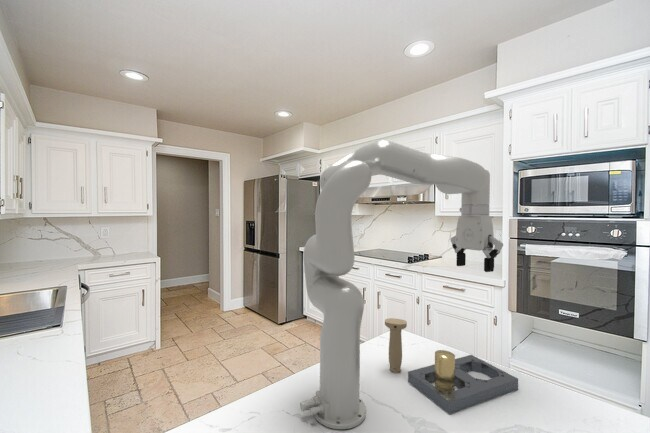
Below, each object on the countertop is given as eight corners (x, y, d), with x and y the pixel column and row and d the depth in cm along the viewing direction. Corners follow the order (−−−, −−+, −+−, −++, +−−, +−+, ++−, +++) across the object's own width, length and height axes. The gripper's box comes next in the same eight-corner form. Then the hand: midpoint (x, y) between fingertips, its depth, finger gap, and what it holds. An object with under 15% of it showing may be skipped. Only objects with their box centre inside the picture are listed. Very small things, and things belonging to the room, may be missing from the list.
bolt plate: (449, 414, 72) (449, 402, 72) (408, 381, 86) (408, 371, 86) (518, 389, 82) (518, 378, 82) (471, 364, 96) (471, 354, 96)
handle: (406, 376, 89) (406, 325, 88) (383, 373, 90) (384, 323, 90) (406, 368, 93) (406, 319, 93) (384, 365, 95) (385, 317, 95)
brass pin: (444, 398, 78) (445, 360, 78) (430, 388, 83) (430, 352, 82) (458, 394, 80) (459, 356, 80) (444, 384, 85) (444, 348, 84)
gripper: (443, 211, 97) (442, 264, 97) (493, 211, 81) (492, 275, 81) (460, 211, 100) (459, 263, 100) (511, 211, 84) (510, 273, 84)
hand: (474, 268), depth 91 cm, fingers open, 9 cm apart
